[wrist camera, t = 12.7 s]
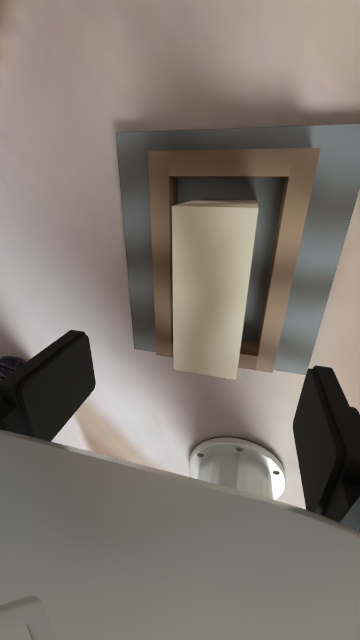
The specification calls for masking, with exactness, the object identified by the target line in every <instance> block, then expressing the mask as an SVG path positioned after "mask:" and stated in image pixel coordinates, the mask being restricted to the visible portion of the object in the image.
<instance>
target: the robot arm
mask: <svg viewBox="0 0 360 640" xmlns="http://www.w3.org/2000/svg"><path fill="white" fill-rule="evenodd" d="M95 384H96V383H95V376H94V369H93V363H92V356H91V350H90V343H89V338H88V336H87V335H86V334H85V332H82V331H76V330H70V331H69V332H67V333H66V334H65V335H63V336H62V337H60V338H59V339H58V340H56V341H55V342H54V343H52V344H51V345H49V346H48V347H47V348H45V349H44V350H43V351H41V352H40V353H38V354H37V355H36V356H34V357H33V358H32V359H30V360H29V361H27V362H26V363H25V364H23V365H22V366H21V367H19V368H18V369H16V370H15V371H14V372H12V373H11V374H10V375H8V376H7V377H5V378H4V379H3V380H1V381H0V640H360V414H359V412H358V411H357V409H356V408H354V407H350V406H349V404H348V402H347V400H346V397H345V395H344V393H343V391H342V389H341V386H340V384H339V382H338V380H337V378H336V375H335V373H334V371H333V369H332V368H329V367H322V366H314V367H313V369H308V370H307V373H306V377H305V381H304V384H303V388H302V392H301V395H300V399H299V403H298V406H297V410H296V414H295V417H294V421H293V432H294V438H295V444H296V450H297V456H298V462H299V468H300V474H301V480H302V486H303V492H304V498H305V504H306V510H305V509H302V508H299V507H296V506H292V505H289V504H286V503H283V502H279V501H275V499H277V498H278V497H279V496H280V495H281V494H282V493H283V491H284V489H285V484H286V480H285V472H284V469H283V467H282V465H281V463H280V462H279V460H278V459H277V458H276V457H275V456H274V455H273V454H272V453H270V452H269V451H268V450H266V449H265V448H263V447H261V446H259V445H257V444H255V443H252V442H250V441H246V440H242V439H238V438H229V437H225V438H215V439H210V440H207V441H204V442H202V443H201V444H199V445H198V446H197V447H196V448H195V449H194V450H193V452H192V454H191V457H190V461H189V470H190V474H191V476H192V478H191V477H187V476H183V475H179V474H175V473H172V472H168V471H164V470H160V469H156V468H152V467H148V466H145V465H141V464H137V463H133V462H129V461H125V460H121V459H117V458H113V457H109V456H106V455H102V454H98V453H94V452H90V451H86V450H82V449H78V448H74V447H70V446H66V445H62V444H58V443H54V442H51V441H52V439H53V438H54V437H55V436H56V435H57V433H58V432H59V431H60V430H61V429H62V427H63V426H64V425H65V424H66V423H67V421H68V420H69V419H70V418H71V417H72V415H73V414H74V413H75V412H76V411H77V409H78V408H79V407H80V406H81V405H82V403H83V402H84V401H85V400H86V399H87V397H88V396H89V395H90V394H91V392H92V391H93V390H94V388H95Z"/></svg>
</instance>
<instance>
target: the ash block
mask: <svg viewBox="0 0 360 640" xmlns="http://www.w3.org/2000/svg"><path fill="white" fill-rule="evenodd" d="M258 209H259V208H258V202H257V200H227V199H197V200H193V201H190V202H186V203H182V204H178V205H174V206H172V261H173V362H174V370H176V371H183V372H189V373H195V374H201V375H207V376H214V377H220V378H226V379H232V380H236V378H237V370H238V363H239V355H240V347H241V340H242V332H243V324H244V316H245V309H246V301H247V293H248V286H249V278H250V270H251V262H252V255H253V247H254V239H255V232H256V224H257V216H258Z"/></svg>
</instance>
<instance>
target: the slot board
mask: <svg viewBox="0 0 360 640" xmlns="http://www.w3.org/2000/svg"><path fill="white" fill-rule="evenodd" d="M116 142H117V153H118V165H119V176H120V188H121V199H122V211H123V222H124V234H125V245H126V257H127V269H128V280H129V292H130V303H131V315H132V326H133V338H134V349H139V350H145V351H152V352H156V355H161V356H168V357H173V261H172V206H174V205H178V204H182V203H186V202H190V201H193V200H197V199H227V200H257V202H258V208H259V209H258V216H257V224H256V232H255V239H254V247H253V255H252V262H251V270H250V278H249V286H248V293H247V301H246V309H245V316H244V324H243V332H242V340H241V347H240V355H239V363H238V367H239V368H245V369H252V370H258V371H265V372H271V373H273V370H277V371H284V372H290V373H297V374H303V375H306V373H307V369H308V366H309V362H310V359H311V355H312V352H313V348H314V345H315V342H316V338H317V335H318V331H319V328H320V324H321V321H322V317H323V314H324V310H325V307H326V303H327V300H328V296H329V293H330V289H331V286H332V282H333V279H334V276H335V272H336V269H337V265H338V262H339V258H340V255H341V251H342V248H343V244H344V241H345V237H346V234H347V230H348V227H349V223H350V220H351V216H352V213H353V209H354V206H355V203H356V199H357V196H358V192H359V189H360V124H340V125H313V126H286V127H259V128H232V129H204V130H177V131H150V132H123V133H116Z"/></svg>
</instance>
